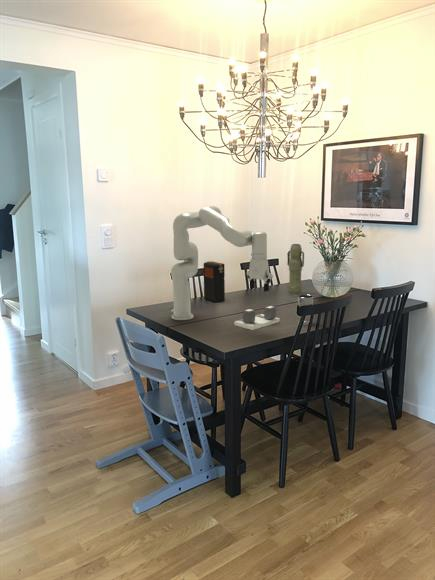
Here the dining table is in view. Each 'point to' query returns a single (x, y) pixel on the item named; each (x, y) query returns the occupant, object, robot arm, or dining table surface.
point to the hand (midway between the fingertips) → (259, 289)
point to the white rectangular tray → (256, 322)
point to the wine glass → (305, 301)
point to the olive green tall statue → (295, 269)
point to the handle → (269, 312)
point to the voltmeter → (214, 281)
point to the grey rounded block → (248, 316)
